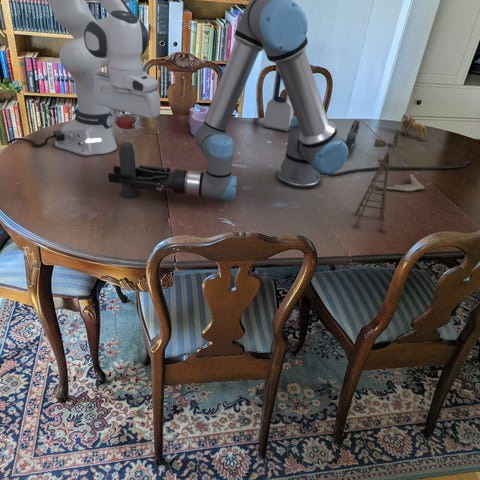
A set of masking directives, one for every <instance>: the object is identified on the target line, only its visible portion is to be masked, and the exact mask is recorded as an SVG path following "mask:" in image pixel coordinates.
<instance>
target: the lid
mask: <svg viewBox="0 0 480 480" xmlns="http://www.w3.org/2000/svg"><path fill="white" fill-rule="evenodd" d="M136 120H137V119H136V118H135V116H131V115H120V116H119V117H118V118H117V124H116V126H117V128H119V129H123V130H132V129H133V128H132V123H133V122H135V121H136Z"/></svg>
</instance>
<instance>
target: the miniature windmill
mask: <svg viewBox="0 0 480 480" xmlns="http://www.w3.org/2000/svg"><path fill="white" fill-rule="evenodd" d="M399 135H400V130H399V129H397V130H395V133H394V136H393V140H392V143H391V142H388V143H387V142H386V141H385V140H381V139H378V138H375V141H374V145H373V147H374V148H385V147H386V146H387V147H388V150H387V152H386V153H385V155H384V157H383V159H382V158H378V159H377V162H378V165H379V166H377V167H378V170H376V172H375V173H374V176H373V178H372V179H371V181H370V184H369V185H368V186H367V190H366V192H364V196H363V197H362V198H361V202H360V203H359V204H358V207H357V209H356V211H355V213H354V215H358V217H357V218H358V219H357V221H356V223H355V227H358V225H359V224H360V221H361V219H362V218H367V219H374V220H378V221H379V220H380V221H381V222H380V223H381V225H380V231H381V232H383V231H384V221H386V219H385V209H386V204H387V199H386V198H387V190H388V189H387V187H388V176H389V173H390V172H389V169H388V167H397V164H396V161H394V160H393V158H394V155H395V154H396V153H397V152H396V149H397V148H398V144H399V139H400V136H399ZM383 167H386V169H383ZM383 171H385V172H383ZM381 175H384V180H379V178H380V176H381ZM377 182H379V183H383V186H384V187H380V186H381V185H380V186H378V185H376V184H377ZM375 188H377V189H379V188H383V189H382V193H380V192H374V190H375ZM372 194H373V195H380V196H381V200H376V199H375V200H374V199H370V198H371V196H372ZM367 195H368V196H367ZM364 201H365V203H364ZM369 202H373V203H379V204H380V207H379V206H373V205H368V203H369ZM361 207H362V210H361ZM366 208H372V209H378V210H380V211H379V217H374V216H369V215H363V214H364V213H365V210H366Z"/></svg>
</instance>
